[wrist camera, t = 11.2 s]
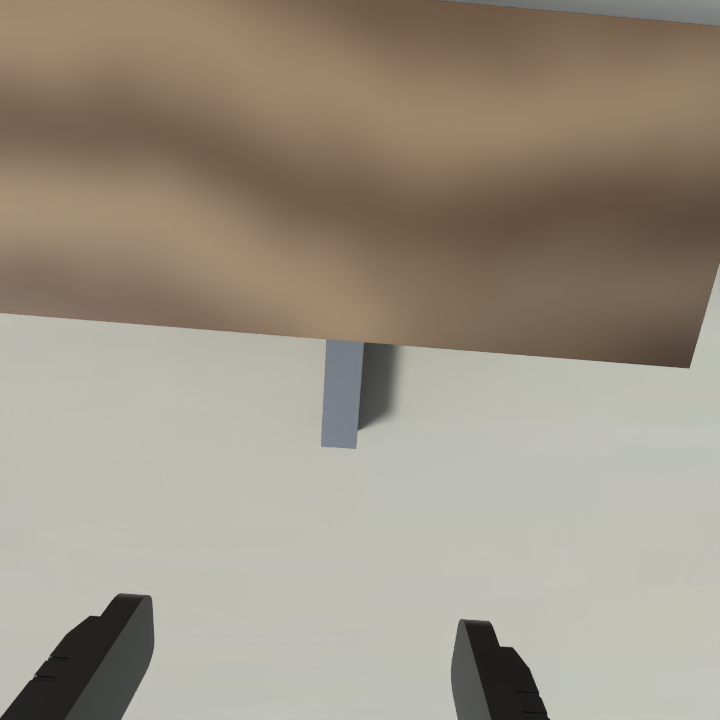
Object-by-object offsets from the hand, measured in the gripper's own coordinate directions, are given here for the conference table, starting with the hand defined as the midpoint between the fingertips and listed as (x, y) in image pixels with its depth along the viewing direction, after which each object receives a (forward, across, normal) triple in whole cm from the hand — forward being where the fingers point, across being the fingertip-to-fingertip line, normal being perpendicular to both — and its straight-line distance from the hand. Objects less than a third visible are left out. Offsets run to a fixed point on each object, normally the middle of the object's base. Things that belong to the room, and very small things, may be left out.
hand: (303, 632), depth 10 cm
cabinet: (+20, 0, -12) cm, 23 cm away
